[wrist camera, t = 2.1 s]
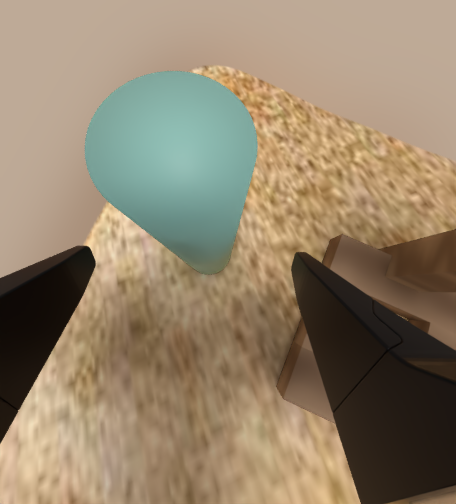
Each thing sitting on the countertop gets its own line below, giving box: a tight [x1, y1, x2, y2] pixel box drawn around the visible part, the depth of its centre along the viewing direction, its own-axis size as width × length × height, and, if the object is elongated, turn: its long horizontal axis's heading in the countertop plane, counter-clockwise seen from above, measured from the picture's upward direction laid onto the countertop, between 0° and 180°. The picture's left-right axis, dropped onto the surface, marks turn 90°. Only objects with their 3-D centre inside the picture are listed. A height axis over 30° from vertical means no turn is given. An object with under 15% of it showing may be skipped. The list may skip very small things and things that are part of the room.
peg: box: [85, 71, 257, 275], centre depth 12 cm, size 4×4×15 cm
